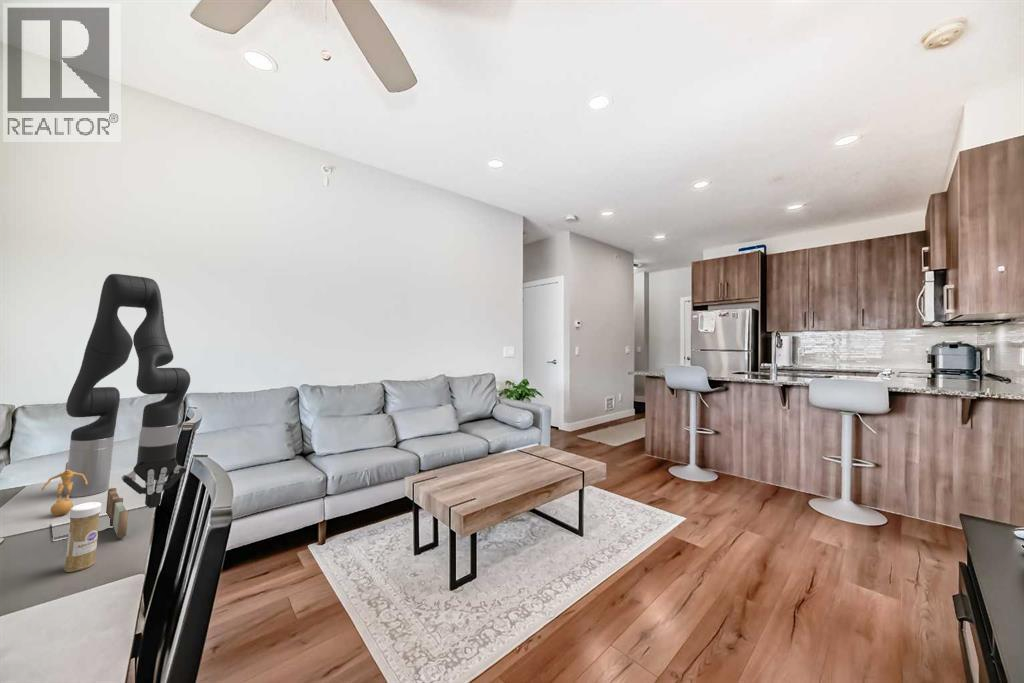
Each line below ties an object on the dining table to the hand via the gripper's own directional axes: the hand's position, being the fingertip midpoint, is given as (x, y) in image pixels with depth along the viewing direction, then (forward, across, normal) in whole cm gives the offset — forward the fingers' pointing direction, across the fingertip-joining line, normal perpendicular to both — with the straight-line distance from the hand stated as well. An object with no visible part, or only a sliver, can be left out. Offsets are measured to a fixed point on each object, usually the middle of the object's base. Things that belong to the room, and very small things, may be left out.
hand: (152, 506), depth 98 cm
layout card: (+6, +10, -13) cm, 17 cm away
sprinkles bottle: (+6, +13, +11) cm, 18 cm away
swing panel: (+5, +5, -2) cm, 8 cm away
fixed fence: (+6, +6, -13) cm, 15 cm away
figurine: (+6, +14, -27) cm, 31 cm away
